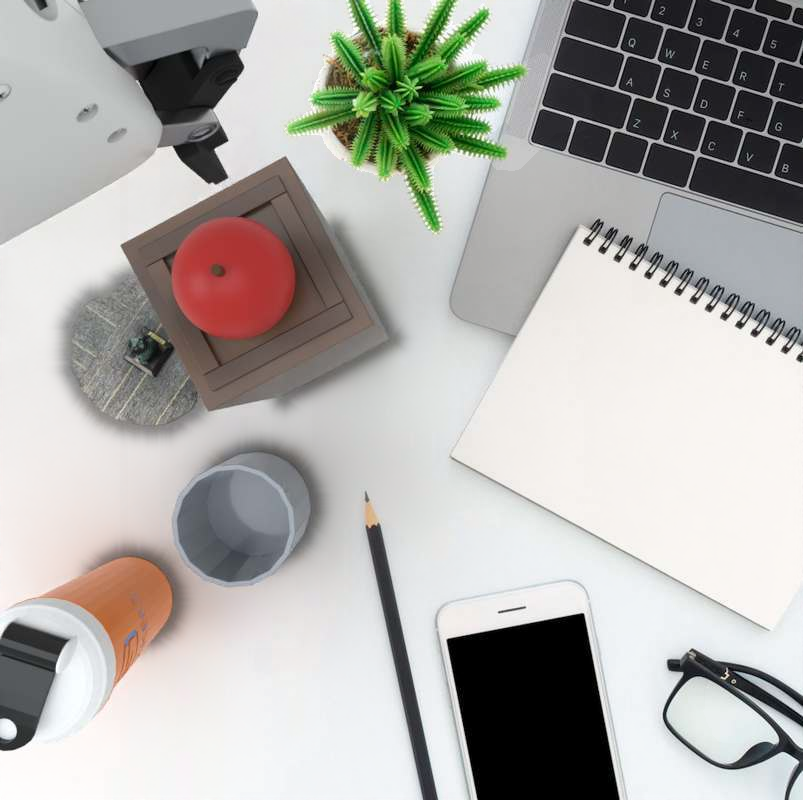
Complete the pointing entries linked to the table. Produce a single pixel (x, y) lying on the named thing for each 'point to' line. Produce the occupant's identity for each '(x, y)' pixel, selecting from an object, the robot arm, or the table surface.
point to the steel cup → (241, 519)
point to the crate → (304, 319)
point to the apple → (233, 278)
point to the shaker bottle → (75, 648)
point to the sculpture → (129, 359)
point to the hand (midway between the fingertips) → (83, 209)
